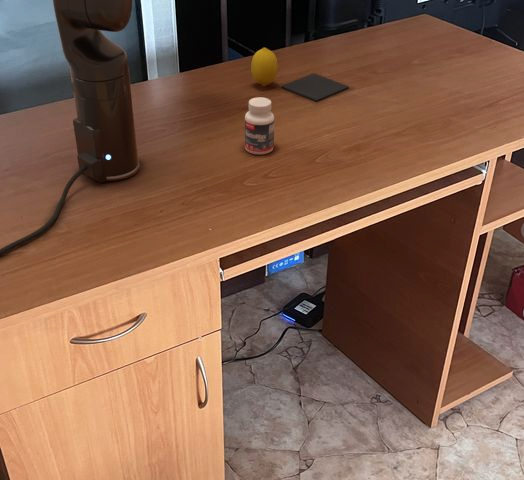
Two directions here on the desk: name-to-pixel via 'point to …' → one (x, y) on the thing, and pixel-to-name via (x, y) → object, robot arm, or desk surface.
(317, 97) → the coaster
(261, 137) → the pill bottle
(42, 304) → the desk surface
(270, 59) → the lemon
